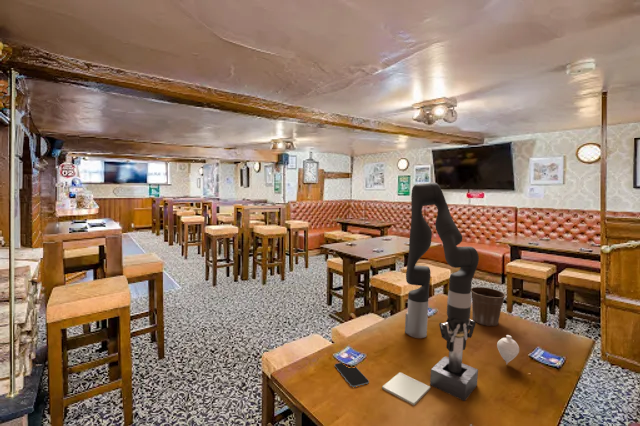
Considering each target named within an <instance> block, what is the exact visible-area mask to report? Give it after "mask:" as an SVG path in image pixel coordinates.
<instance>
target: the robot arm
mask: <svg viewBox="0 0 640 426" xmlns="http://www.w3.org/2000/svg"><path fill="white" fill-rule="evenodd" d="M410 196H411V197H410V198H411V201H410V202H411V206H410V207H411V211H410V212H411V216H410V217H411V218H410V229H409V230H410V231H409V240H408V241H409V242H408V243H409V245H408V258H407V264H406V272H405V280H406V283H407V284H408V285H409V286H410V285H411V286H419V287H418V288H416V289H413V290H410V291H409V292H408V296H407V312H406V313H405V320H404V321H405V323H404V333H405V334H407V335H408V336H410V337H411V338H415V339H423V338H426V337H427V336H428V335H427V334H428V317H429V296H430V295H429V294H430V284H431V269H430V267H429V266H427V265H417V263H418V261H419V260H420V258H422V256H423V255H424V254H426V253H427V252H428V251H429V249H430V247H431V245H432V237H433V232H432V231H433V230H432V228H431V226H430V225H429V224H428V222H427V221H426V220H425V218H424V215H423V207H425V206H433V205H434V206H435V207H436V208H437V215H436V218H435V225H434V226H435V230H436V232H437V235H438V237H439V238H440V240H441V243H442V246H443V247H442V248H443V252H444V260H445V261H446V263H447V264H448V265H449V266H450V267H452V268H455V269H457V268H459V270H458V271H456V272H453V273H451V274H450V275H449V281H448V283H449V285H448V293H447V304H446V315H447V319H446V321H445V322H443V323H442V322H439V324H438V325H439V330H440V334H441V338H442V339H443V340H445V341H446V347H445V348H446V349H447V350H448V352H449V351H450V352H453V344H454V342H453V341H454V336H456V334H457V332H463V333H465V334H464V339H463V351H464V350H465V349H466V347H467V340H468V338H470V339H471V338H472V337H473V334H474V330H475V327H476V324H477V322H475V320H473V319H471V306H472V294H471V288H472V281H473V280H474V279H473V278H474V276H475V273H476V270H477V267H478V265H479V261H480V259H479V253H478V251H477V250H476V248H475V247H473V246H458V245H460V244H461V243H462V242H463V235H462V233H461V232H460V230H459V228H458V226H457V225H456V223H455V221H454V219H453V218H452V214H451V212H450V209H449V205H448V204H447V200H446V198H445V195H444V192H443V189H442V188H441V186H440V185H439V184H438V183H437V182H426V183H425V182H424V183H423V182H422V183H417V184H414V185H413V186H412V189H411V195H410ZM451 330H452V331H453V332H451ZM450 334H451V337H450Z"/></svg>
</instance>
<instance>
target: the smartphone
mask: <svg viewBox="0 0 640 426" xmlns="http://www.w3.org/2000/svg"><path fill="white" fill-rule="evenodd" d="M335 367H336V368H337V369H336V368H335ZM334 368H335V369H336V370H337V371H338V372H340V373H341V374H340V373H339V374H340V375H341V376H342V378H343V377H344V378H345V379H344V378H343V379H344V380H345V382H346V383H347V382H348V383H349V384H350V385H349V384H348V383H347V384H348V385H349V386H350V387H351V386H352V387H355V388H357V387H356V386H359V387H361V386H360V385H363V386H365V385H364V384H367V385H369V384H368V383H370V380H369V379H368V378H367V377H366V376H365V375H364V374H363V372H361V371H360V370H359V369H358V367H355V368H348V367H346V366H345V365H343V364H342V362H337V363H335V364H334ZM352 387H351V388H352Z"/></svg>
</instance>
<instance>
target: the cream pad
mask: <svg viewBox="0 0 640 426" xmlns="http://www.w3.org/2000/svg"><path fill="white" fill-rule="evenodd" d="M382 390H384V391H385V392H387V393H389V394H392V395H393V396H395V397H397V398H399V399H401V400H403V401H404V402H406V403H408V404H410V405H412V406H415V405H417V403H419V401H420V400H421V399H422V398H423V397H424V396H425V395H427V393H428V392H429V391H430V390H431V385H429V384H428V385H427V384H425V383H424V382H422V381H420V380H417V379H414V378H413V377H411V376H409V375H406V374H404V373H403V372H398V373H397V374H395V376H393V377H392V378H391V379H390V380H389V381H387V382H386V383H384V384H383V385H382Z"/></svg>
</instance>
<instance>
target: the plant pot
mask: <svg viewBox="0 0 640 426" xmlns="http://www.w3.org/2000/svg"><path fill="white" fill-rule="evenodd" d="M505 297H506V294H505V293H504V292H503V291H501V290H497V289H494V288H489V287H485V286H474V287H471V306H472V312H471V313H472V320H473V321H475V322H476V324H479V325H482V326H487V327H490V326H492V327H496V326H498V325H499V320H500V315H501V311H502V306H503V304H504V299H505Z"/></svg>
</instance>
